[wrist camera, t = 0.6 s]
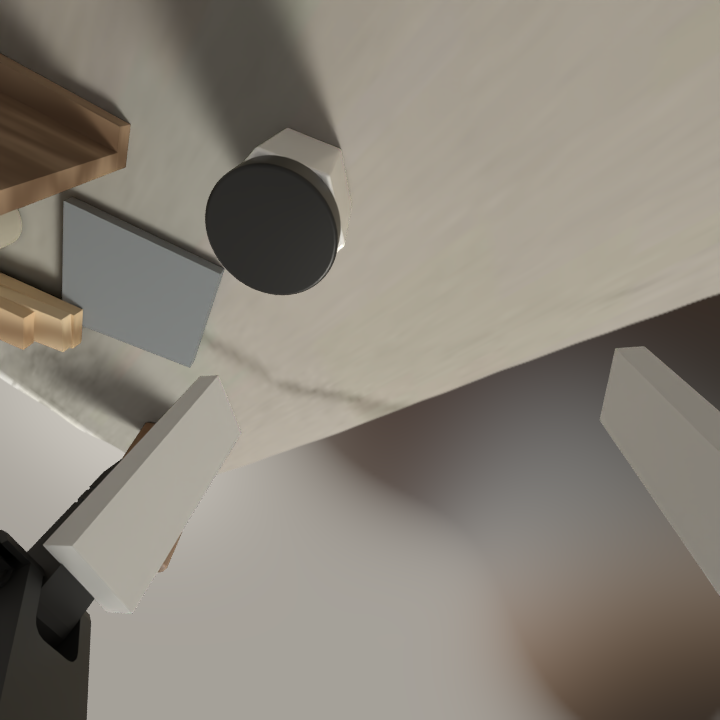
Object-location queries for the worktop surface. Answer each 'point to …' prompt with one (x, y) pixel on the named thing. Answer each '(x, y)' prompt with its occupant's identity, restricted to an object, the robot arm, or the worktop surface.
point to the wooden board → (51, 138)
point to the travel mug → (10, 228)
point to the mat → (135, 283)
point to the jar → (281, 214)
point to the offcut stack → (37, 317)
